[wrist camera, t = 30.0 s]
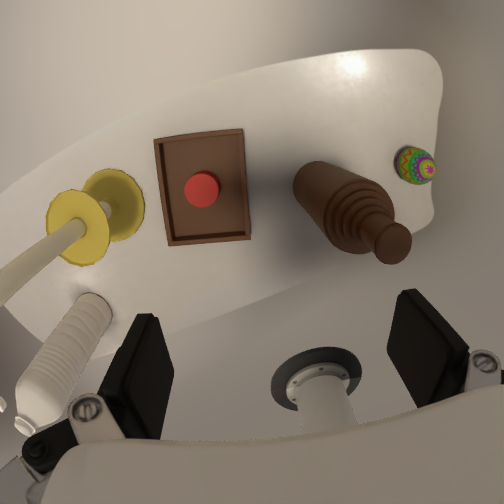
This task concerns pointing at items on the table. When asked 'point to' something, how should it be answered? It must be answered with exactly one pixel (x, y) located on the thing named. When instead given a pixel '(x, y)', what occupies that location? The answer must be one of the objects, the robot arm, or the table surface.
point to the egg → (416, 166)
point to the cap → (202, 189)
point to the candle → (80, 227)
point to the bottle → (352, 212)
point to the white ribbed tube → (59, 364)
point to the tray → (184, 167)
